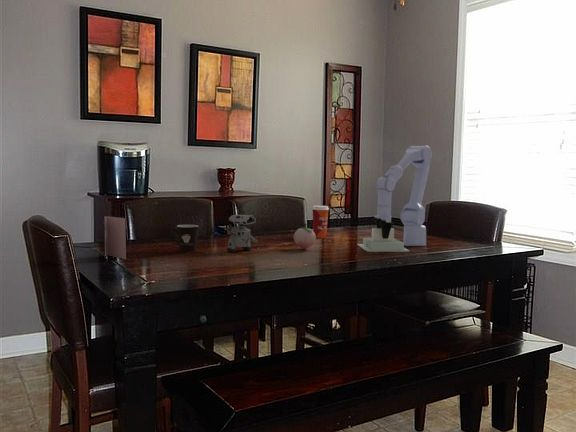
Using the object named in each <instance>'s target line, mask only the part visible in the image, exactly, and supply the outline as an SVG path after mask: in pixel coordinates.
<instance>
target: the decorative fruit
mask: <svg viewBox="0 0 576 432" xmlns="http://www.w3.org/2000/svg"><path fill="white" fill-rule="evenodd" d="M316 239H317V238H316V235H315V233H314V232H313V229H311V228H308V227H299V228H297V229H296V230H295V232H294V233H293V240H294V243H296V245H297V246H298V247H299V248H301V250H307V249H309V248H311V247H312V246H313V245H314V244H315V241H316Z"/></svg>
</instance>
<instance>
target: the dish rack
mask: <svg viewBox="0 0 576 432" xmlns="http://www.w3.org/2000/svg"><path fill="white" fill-rule="evenodd" d="M357 246H358V247H360V248H361V249H363V250H364V251H366V252H367V253H369V252H370V253H373V252H374V253H379V252H380V253H381V252H383V253H384V252H386V253H387V252H388V253H389V252H390V253H391V252H393V253H400V252H401V253H403V252H404V253H407V252H408V253H410V250H409V249H407V248H406V247H405V245H404V242H403V241H401V240H399V239H397V238H395V237H394V241H372V237H363V238H362V243H357Z"/></svg>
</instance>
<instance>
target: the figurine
mask: <svg viewBox="0 0 576 432" xmlns="http://www.w3.org/2000/svg"><path fill="white" fill-rule="evenodd" d="M256 219H257V218H255V217H254V215H253V214H233V215H231V216H230V217H228V220H229V222H232V223H233V224H234V225H237V226H233V225H232V224H231V225H229V226H228V227H227V234H226V235H227V236H230V238H229V239H228V241H227V248H226V251H227V252H229V253H235V252H236V247H237V248H242V249H243V251H248V252H249V251H252V245H251V241H252V242H254V243H255V244H259V243H258V242H259V241H260V239H261V237H260V236H258V238H257V239H256V238H254V237H253V235H251V229H250V228H247V225H252V224H255V223H256Z"/></svg>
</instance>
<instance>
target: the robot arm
mask: <svg viewBox="0 0 576 432" xmlns="http://www.w3.org/2000/svg"><path fill="white" fill-rule="evenodd" d="M404 153H405V154H404V155H403V157H402V158H401V159H400V161H399V162H398V163H397V164H396V165H391V166H390V167H389V169H388V170H387V171H386V173H384V175H383V176H381V177H378V179H377V180H376V182H375V183H374V185H375V187H374V188H375V189H376V194H377V209H376V210H377V214H376V215H374V218H375V219H374V223H375V226H376V228H381V229H382V237H383V239H388V237H389V233H390V230H391V228H392V227H393V226H394V222H392V194H393V191H394V190H395V188H396V184H397V182H398V181H399V180H400V178H401V177H403V175H404V170H405V169H407V167H408V166H410V165H411V164H412V166H414V167H415V168H416V170H415V175H414V178H413V183H412V188H411V193H410V197H409V201H408V202H407V203H406V204H405V205H403V209H402V211H401V212H400V216H399V217H400V221H401V223H402V225H403V241H402V242H404V247H405V246H406V247H410V246H411V247H412V246H417V247H421V246H422V247H423V246H427V244H426V243H427V228H426V226H425V225H423V224H424V223H425V219H426V208H425V207H424V206H423V204H422V203H423V199H424V195H425V189H426V184H427V181H428V177H429V171H430V165H431V163H432V162H431V161H432V157H433V155H434V153H433V151H432V149H431V147H430V146H429V145H421V146H420V145H416V146H415V145H409V146H408V147H407V149H406V150H405V152H404Z"/></svg>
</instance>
